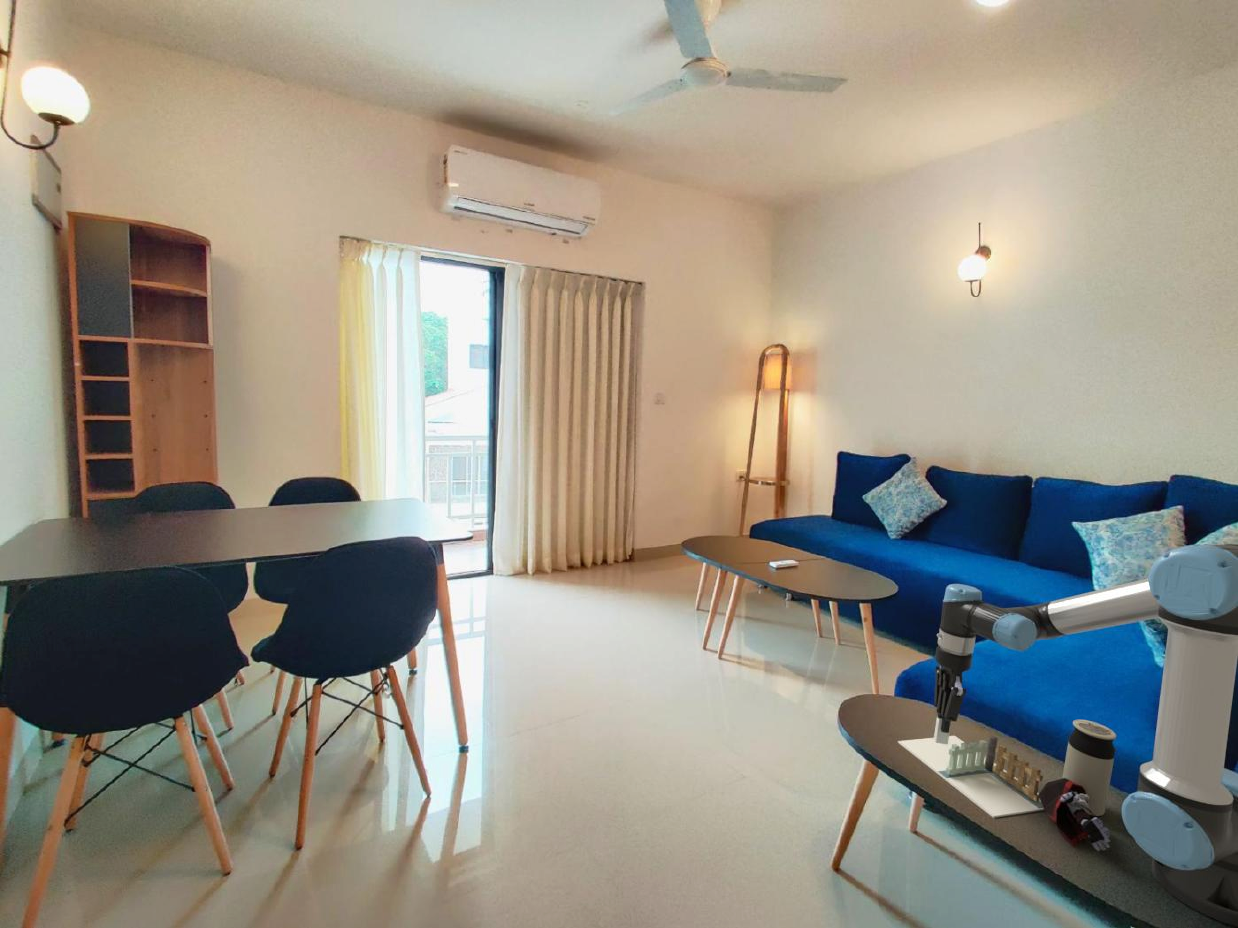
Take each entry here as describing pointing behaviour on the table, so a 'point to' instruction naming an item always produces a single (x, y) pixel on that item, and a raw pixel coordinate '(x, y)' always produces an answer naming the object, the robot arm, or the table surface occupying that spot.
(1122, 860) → the table surface
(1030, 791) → the fence fixed
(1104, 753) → the travel mug
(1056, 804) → the toy
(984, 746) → the fence gate
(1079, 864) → the table surface
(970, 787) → the card
